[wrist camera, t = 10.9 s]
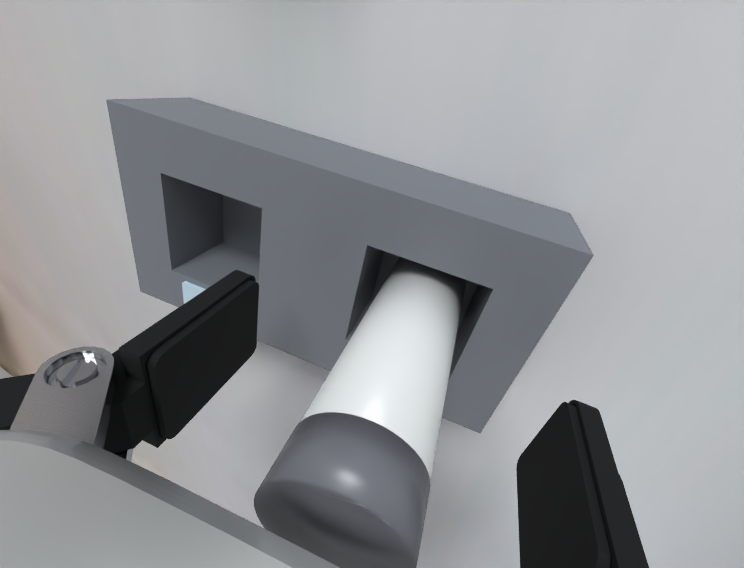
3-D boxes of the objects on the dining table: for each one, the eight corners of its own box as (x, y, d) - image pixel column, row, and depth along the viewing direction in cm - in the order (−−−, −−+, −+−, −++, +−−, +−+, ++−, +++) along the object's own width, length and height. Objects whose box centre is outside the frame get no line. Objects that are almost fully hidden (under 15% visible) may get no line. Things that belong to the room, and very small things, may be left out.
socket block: (570, 213, 13) (594, 258, 10) (484, 368, 18) (479, 437, 14) (189, 97, 16) (101, 99, 12) (199, 258, 20) (136, 293, 17)
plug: (478, 257, 15) (441, 540, 5) (452, 317, 16) (390, 607, 7) (405, 232, 15) (257, 452, 6) (387, 293, 17) (251, 536, 8)
